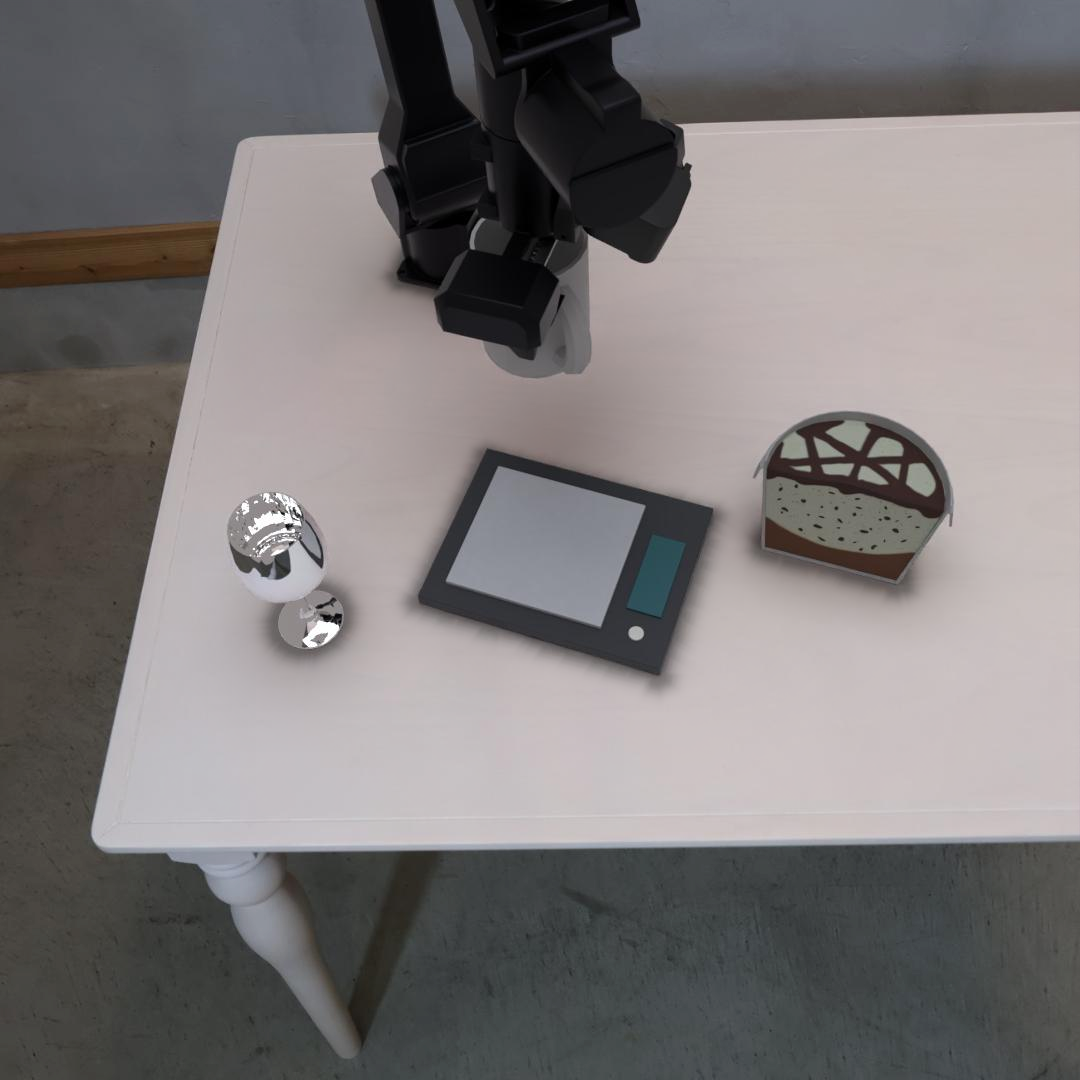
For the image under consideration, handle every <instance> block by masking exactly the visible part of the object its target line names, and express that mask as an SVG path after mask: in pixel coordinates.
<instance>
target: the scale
mask: <svg viewBox="0 0 1080 1080" xmlns="http://www.w3.org/2000/svg"><path fill="white" fill-rule="evenodd" d="M713 515H714V508H713V507H709V506H706V505H703V504H698V503H695V502H691V501H688V500H683V499H680V498H676V497H672V496H668V495H665V494H660V493H657V492H653V491H651V490H646V489H642V488H639V487H633V486H631V485H628V484H627V485H626V484H624V483H618V482H616V481H612V480H609V479H604V478H601V477H598V476H593V475H589V474H586V473H582V472H578V471H574V470H571V469H567V468H563V467H559V466H556V465H552V464H548V463H545V462H541V461H537V460H533V459H529V458H525V457H521V456H517V455H515V454H511V453H507V452H504V451H499V450H496V449H492V448H486V450H485V452H484V454H483V457H481V460H480V462H479V465H478V466H477V469H476V471H475V473H474V475H473V477H472V479H471V481H470V484H469V486H468V488H467V489H466V492H465V494H464V496H463V498H462V501H461V503H460V505H459V507H458V509H457V511H456V514H455V516H454V518H453V520H452V522H451V524H450V526H449V528H448V530H447V532H446V535H445V537H444V539H443V541H442V544H441V545H440V547H439V550H438V552H437V554H436V556H435V559H434V560H433V563H432V564H431V567H430V569H429V571H428V573H427V575H426V577H425V579H424V582H423V584H422V586H421V588H420V590H419V592H418V594H417V599H418V602H419V603H420V604H422V605H426V606H429V607H432V608H435V609H439V610H442V611H446V612H449V613H452V614H455V615H458V616H461V617H465V618H469V619H471V620H474V621H475V620H476V621H479V622H482V623H485V624H488V625H492V626H494V627H495V626H496V627H497V628H501V629H506V630H508V631H510V632H511V631H512V632H515V633H517V634H522V635H525V636H527V637H532V638H535V639H538V640H541V641H544V642H548V643H551V644H555V645H558V646H561V647H564V648H568V649H571V650H575V651H578V652H580V653H584V654H588V655H591V656H594V657H597V658H600V659H603V660H607V661H611V662H614V663H617V664H620V665H624V666H627V667H630V668H633V669H636V670H637V669H638V670H641V671H644V672H647V673H650V674H653V675H657V676H659V675H661V673H662V669H663V666H664V664H665V663H664V662H665V660H666V657H667V654H668V652H669V648H670V645H671V642H672V640H673V636H674V633H675V630H676V627H677V624H678V622H679V618H680V615H681V612H682V610H683V607H684V604H685V599H686V597H687V594H688V591H689V588H690V585H691V582H692V579H693V576H694V573H695V571H696V568H697V564H698V561H699V558H700V554H701V552H702V549H703V546H704V543H705V540H706V537H707V534H708V531H709V529H710V525H711V522H712V519H713Z"/></svg>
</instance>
